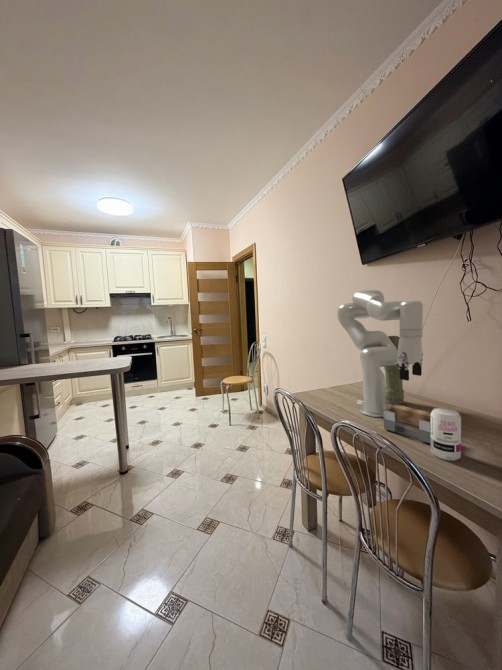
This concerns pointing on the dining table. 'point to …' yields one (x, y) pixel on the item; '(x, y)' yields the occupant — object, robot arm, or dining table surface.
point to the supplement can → (446, 434)
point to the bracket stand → (398, 427)
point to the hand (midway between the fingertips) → (410, 377)
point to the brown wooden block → (410, 414)
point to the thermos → (393, 380)
